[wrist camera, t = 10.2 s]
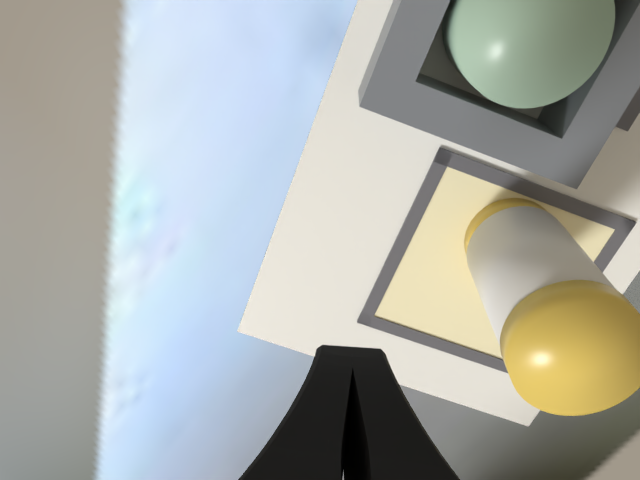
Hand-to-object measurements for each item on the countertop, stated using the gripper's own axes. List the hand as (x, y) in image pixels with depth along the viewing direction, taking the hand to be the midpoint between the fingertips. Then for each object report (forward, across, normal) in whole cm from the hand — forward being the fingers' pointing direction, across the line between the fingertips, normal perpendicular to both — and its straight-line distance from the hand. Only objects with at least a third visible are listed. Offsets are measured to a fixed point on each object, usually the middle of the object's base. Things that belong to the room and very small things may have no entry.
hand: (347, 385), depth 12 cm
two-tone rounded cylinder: (+9, -6, +1) cm, 11 cm away
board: (+10, -5, -1) cm, 11 cm away
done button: (+9, -4, -7) cm, 12 cm away
